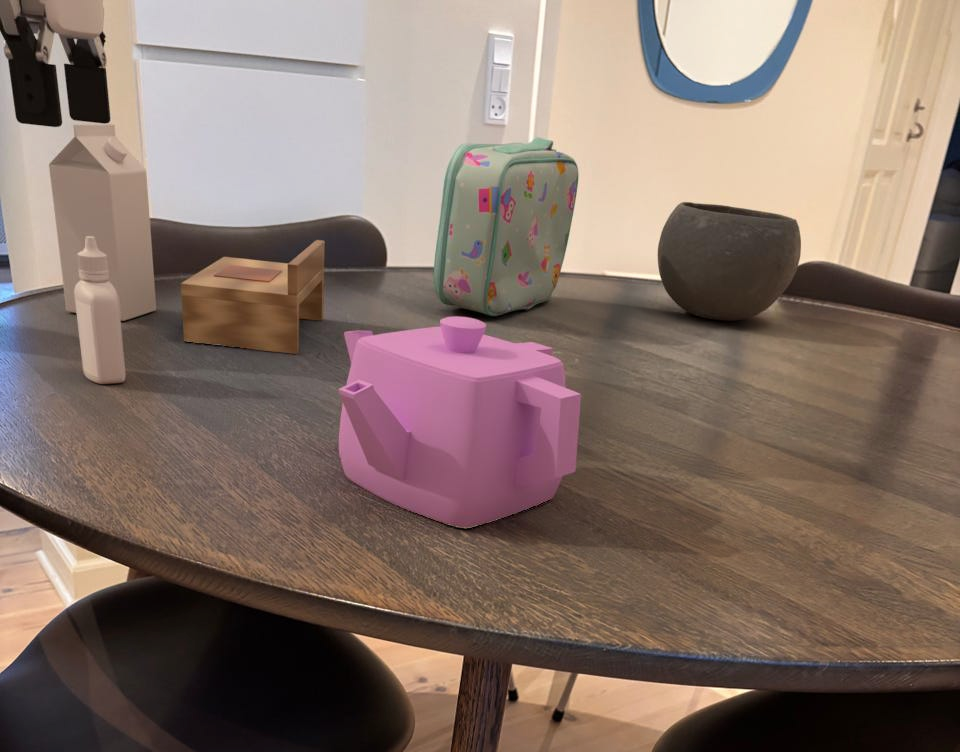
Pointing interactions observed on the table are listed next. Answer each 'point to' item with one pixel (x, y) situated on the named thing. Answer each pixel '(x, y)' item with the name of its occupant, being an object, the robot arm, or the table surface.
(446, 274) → the lunch box
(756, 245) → the bowl
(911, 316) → the table surface
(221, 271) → the wooden toy chair
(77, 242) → the milk carton
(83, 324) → the eye dropper bottle
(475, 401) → the teakettle
